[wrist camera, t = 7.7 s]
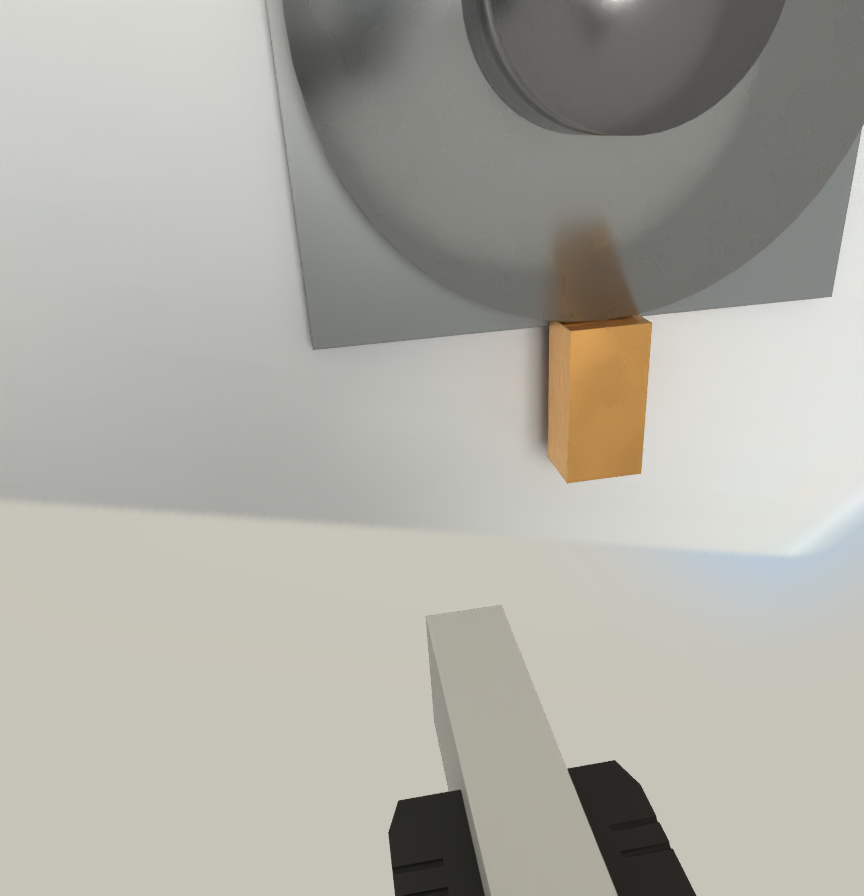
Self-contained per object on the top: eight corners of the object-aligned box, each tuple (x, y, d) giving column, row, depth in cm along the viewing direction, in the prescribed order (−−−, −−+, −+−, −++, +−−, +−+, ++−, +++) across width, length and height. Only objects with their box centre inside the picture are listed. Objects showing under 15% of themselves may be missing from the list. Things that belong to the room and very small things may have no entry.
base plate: (312, 344, 27) (313, 349, 26) (206, -447, 18) (202, -470, 17) (818, 292, 29) (831, 296, 29) (941, -424, 21) (964, -444, 20)
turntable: (343, 482, 28) (346, 511, 26) (225, -450, 17) (214, -532, 15) (803, 425, 31) (840, 447, 29) (952, -427, 20) (1031, -495, 18)
